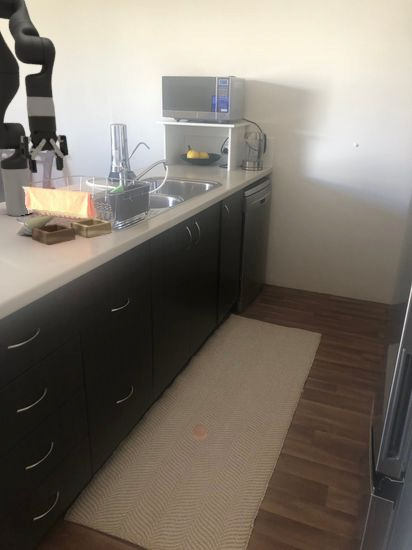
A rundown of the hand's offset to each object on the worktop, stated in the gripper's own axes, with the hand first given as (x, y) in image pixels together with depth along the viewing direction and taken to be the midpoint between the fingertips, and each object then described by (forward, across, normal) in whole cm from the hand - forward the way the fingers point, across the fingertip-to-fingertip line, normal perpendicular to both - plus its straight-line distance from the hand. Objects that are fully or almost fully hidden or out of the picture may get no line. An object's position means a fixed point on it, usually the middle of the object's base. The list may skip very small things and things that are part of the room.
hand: (47, 171), depth 130 cm
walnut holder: (+21, 0, 0) cm, 21 cm away
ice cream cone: (+14, -2, -2) cm, 14 cm away
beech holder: (+21, -13, +2) cm, 25 cm away
